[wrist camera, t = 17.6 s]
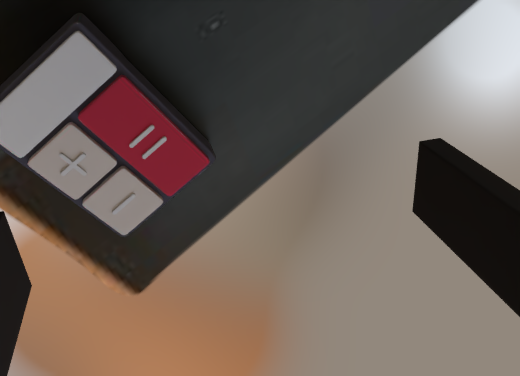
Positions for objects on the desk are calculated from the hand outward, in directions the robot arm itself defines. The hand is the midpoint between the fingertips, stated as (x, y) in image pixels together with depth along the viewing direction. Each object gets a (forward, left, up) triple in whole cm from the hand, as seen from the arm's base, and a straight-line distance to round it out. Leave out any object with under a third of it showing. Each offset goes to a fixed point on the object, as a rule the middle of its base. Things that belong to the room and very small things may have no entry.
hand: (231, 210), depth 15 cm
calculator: (+6, -6, -27) cm, 28 cm away
